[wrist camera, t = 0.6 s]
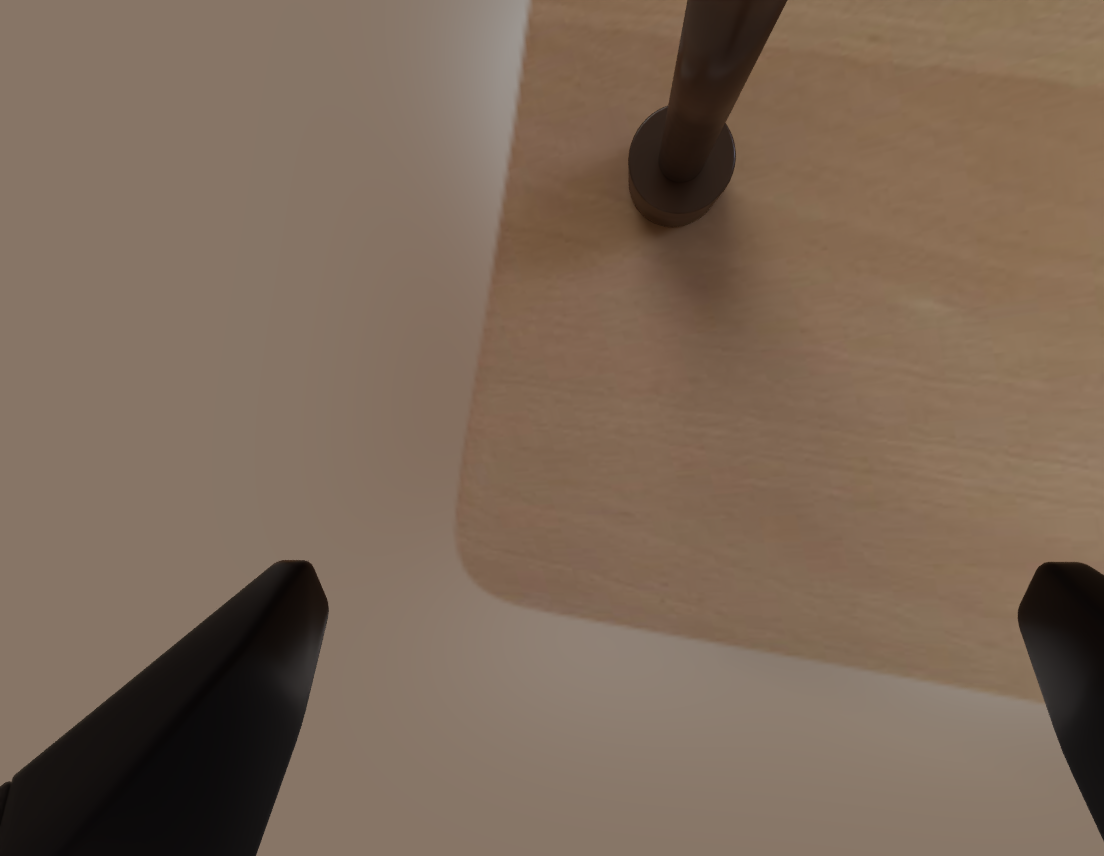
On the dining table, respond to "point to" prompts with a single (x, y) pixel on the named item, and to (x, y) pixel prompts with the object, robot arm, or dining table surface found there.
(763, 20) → the brown pestle
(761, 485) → the dining table surface
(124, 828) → the robot arm
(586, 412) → the dining table surface
